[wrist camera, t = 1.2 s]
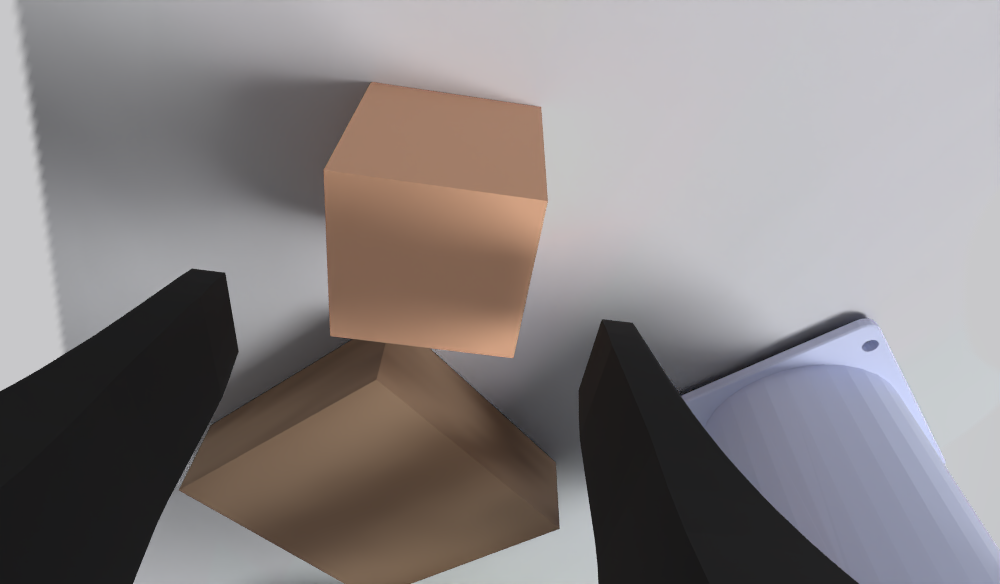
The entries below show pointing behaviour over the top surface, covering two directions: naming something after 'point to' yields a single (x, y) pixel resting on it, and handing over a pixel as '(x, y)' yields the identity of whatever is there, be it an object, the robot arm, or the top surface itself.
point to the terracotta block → (434, 220)
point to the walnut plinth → (377, 468)
